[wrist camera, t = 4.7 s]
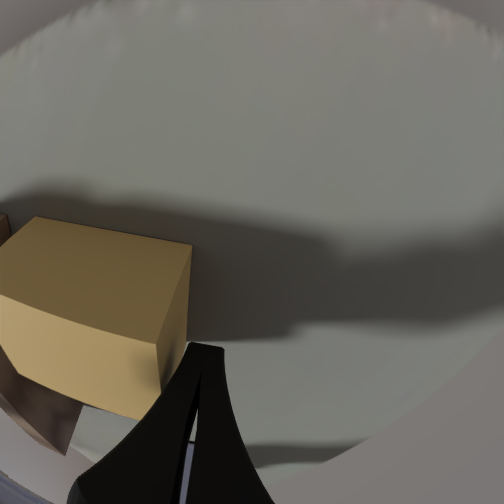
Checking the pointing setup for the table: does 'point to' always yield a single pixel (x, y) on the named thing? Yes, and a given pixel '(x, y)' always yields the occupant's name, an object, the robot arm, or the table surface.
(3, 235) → the walnut block
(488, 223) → the table surface
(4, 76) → the table surface
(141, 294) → the ochre block
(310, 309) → the table surface
